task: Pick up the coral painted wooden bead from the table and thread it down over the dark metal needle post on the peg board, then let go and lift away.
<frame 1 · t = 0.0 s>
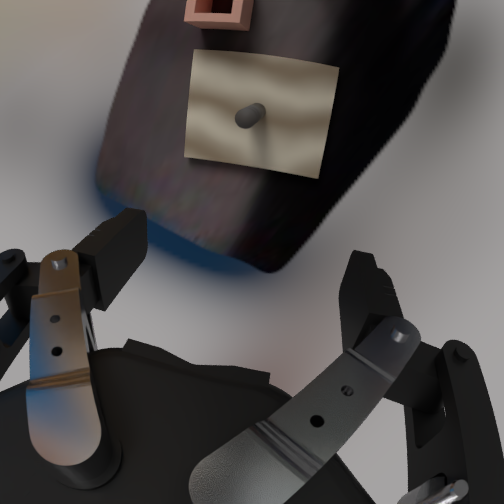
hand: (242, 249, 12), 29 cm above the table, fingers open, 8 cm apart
bead: (227, 8, 30), on the table
peg board: (258, 109, 36), on the table
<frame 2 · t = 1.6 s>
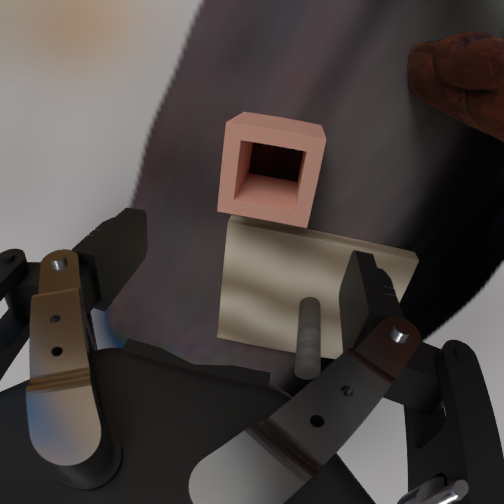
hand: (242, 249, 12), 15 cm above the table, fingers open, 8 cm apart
bead: (276, 154, 24), on the table
peg board: (310, 295, 31), on the table
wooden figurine: (464, 82, 18), on the table
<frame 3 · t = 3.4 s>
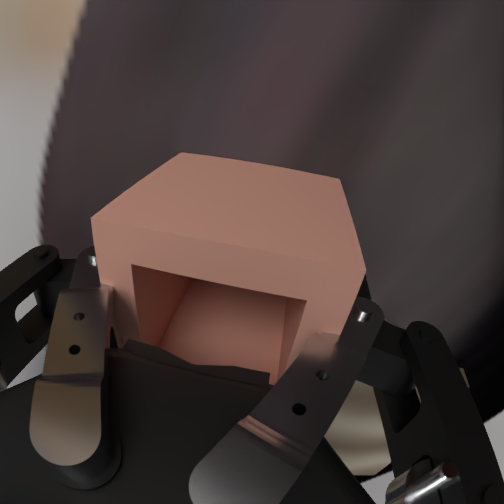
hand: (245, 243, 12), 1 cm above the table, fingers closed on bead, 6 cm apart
bead: (248, 234, 13), on the table, touching gripper
peg board: (304, 418, 19), on the table
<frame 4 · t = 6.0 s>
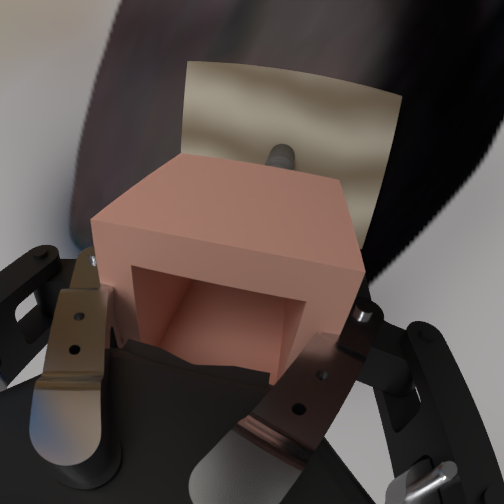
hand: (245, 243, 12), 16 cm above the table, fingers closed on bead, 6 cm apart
bead: (248, 235, 13), point 15 cm above the table, touching gripper
peg board: (283, 151, 26), on the table
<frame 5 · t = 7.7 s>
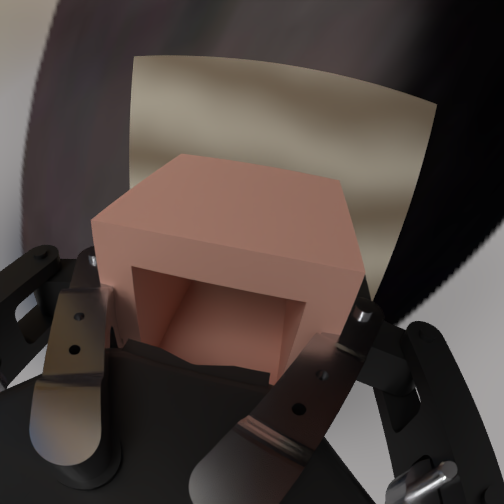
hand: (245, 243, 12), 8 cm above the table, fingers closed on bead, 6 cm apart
bead: (248, 235, 13), point 7 cm above the table, touching gripper
peg board: (267, 179, 19), on the table
when the fingers open (5 cm above the table, at t = 8.8 s): bead drops 3 cm, resting on peg board.
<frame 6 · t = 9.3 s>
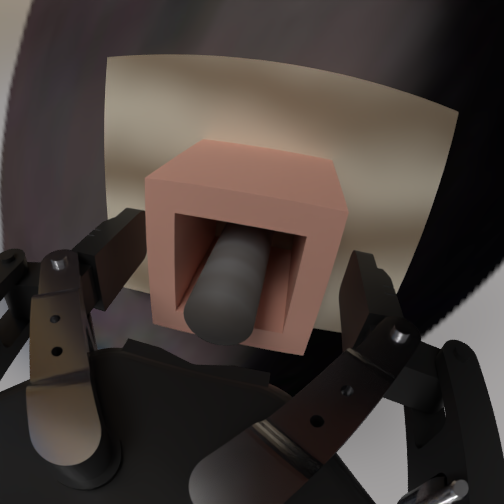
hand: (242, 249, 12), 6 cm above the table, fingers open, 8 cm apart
bead: (258, 207, 15), point 1 cm above the table, touching peg board
peg board: (261, 196, 17), on the table
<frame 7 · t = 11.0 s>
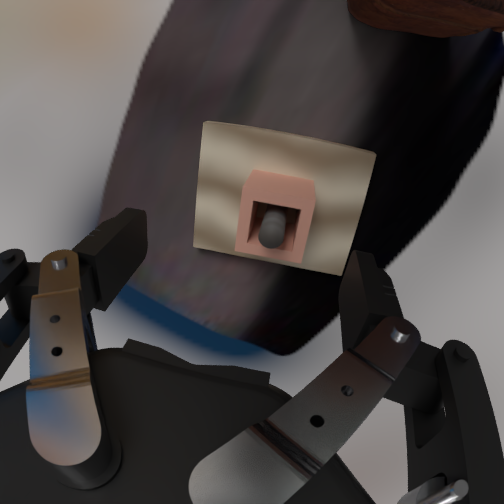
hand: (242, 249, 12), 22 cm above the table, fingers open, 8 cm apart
bead: (278, 202, 32), point 1 cm above the table, touching peg board
peg board: (279, 197, 33), on the table
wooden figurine: (398, 9, 22), on the table
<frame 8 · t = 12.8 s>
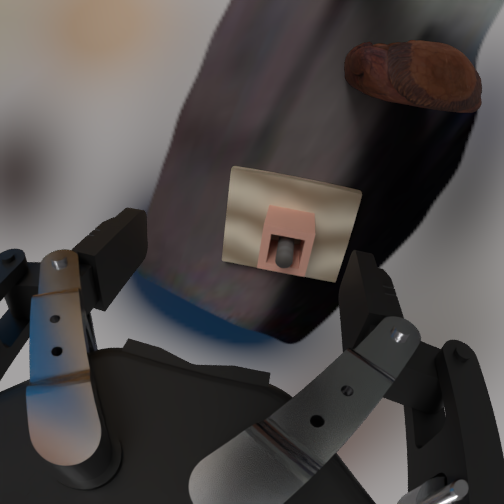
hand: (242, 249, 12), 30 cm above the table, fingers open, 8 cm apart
bead: (288, 229, 43), point 1 cm above the table, touching peg board
peg board: (288, 224, 44), on the table
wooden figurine: (386, 73, 32), on the table
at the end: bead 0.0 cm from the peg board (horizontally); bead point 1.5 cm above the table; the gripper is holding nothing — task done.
